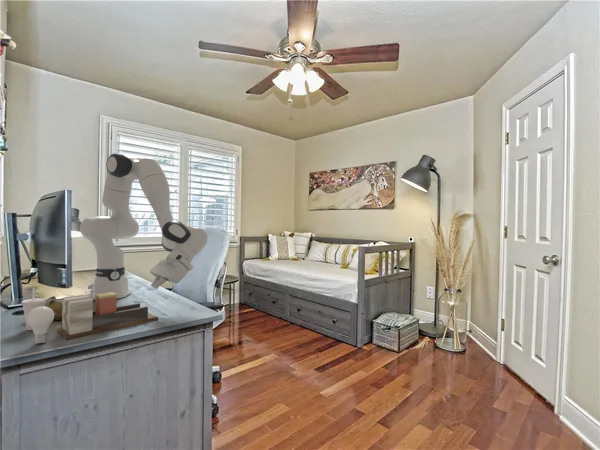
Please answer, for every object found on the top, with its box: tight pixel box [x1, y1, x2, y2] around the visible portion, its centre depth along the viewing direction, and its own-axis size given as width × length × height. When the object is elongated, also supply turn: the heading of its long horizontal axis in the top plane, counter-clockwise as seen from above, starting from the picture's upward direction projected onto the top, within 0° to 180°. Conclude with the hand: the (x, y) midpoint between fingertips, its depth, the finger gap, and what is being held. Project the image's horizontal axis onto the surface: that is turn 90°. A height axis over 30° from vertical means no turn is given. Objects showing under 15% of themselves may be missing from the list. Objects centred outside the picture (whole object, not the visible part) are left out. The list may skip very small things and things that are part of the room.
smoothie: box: [21, 287, 47, 331], centre depth 106 cm, size 6×6×14 cm
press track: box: [57, 294, 159, 341], centre depth 111 cm, size 12×28×11 cm, turn 138°
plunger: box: [94, 292, 117, 316], centre depth 109 cm, size 5×5×10 cm
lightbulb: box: [27, 306, 55, 345], centre depth 93 cm, size 6×6×11 cm
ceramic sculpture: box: [45, 296, 63, 321], centre depth 117 cm, size 11×9×15 cm
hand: (153, 287), depth 122 cm, fingers closed
